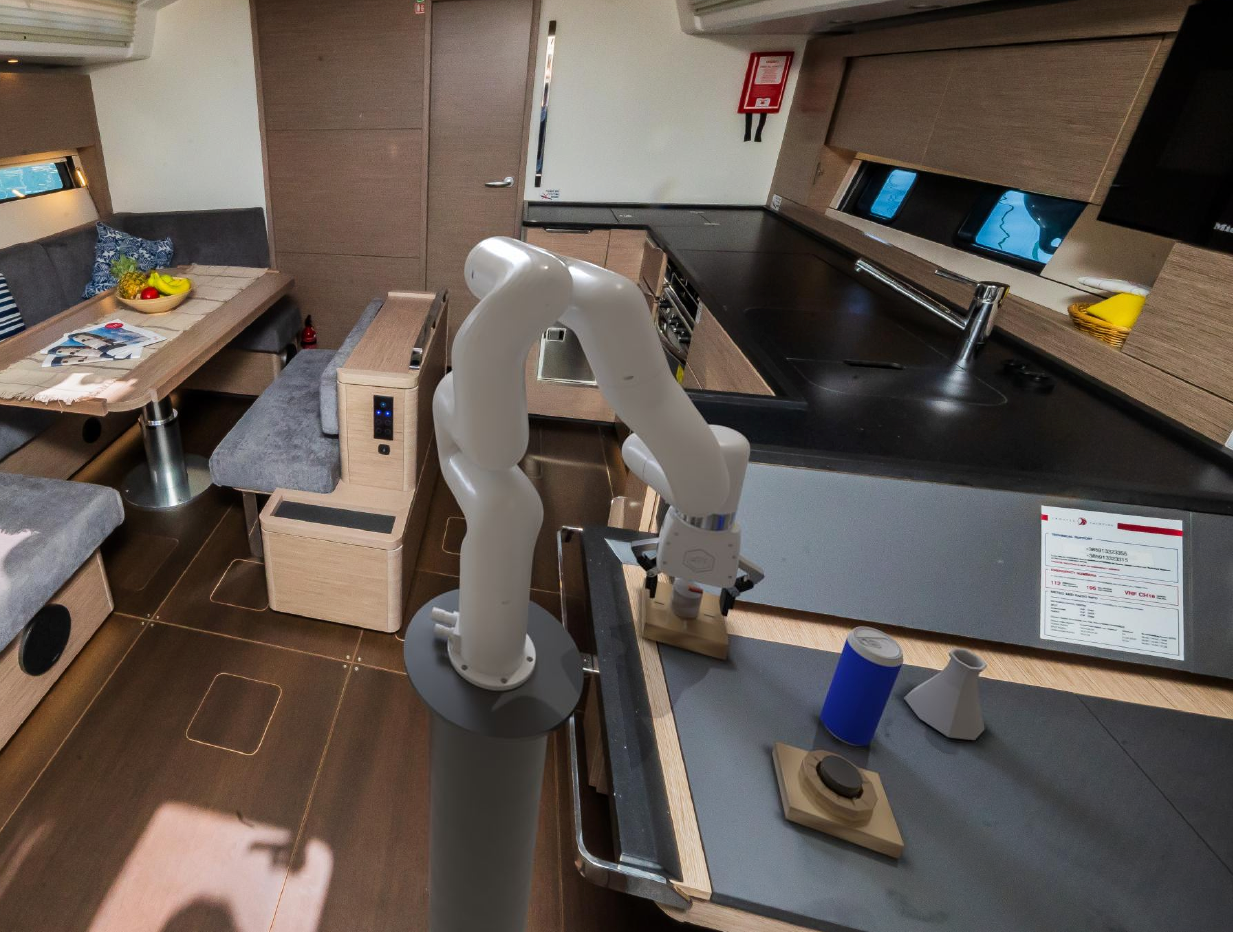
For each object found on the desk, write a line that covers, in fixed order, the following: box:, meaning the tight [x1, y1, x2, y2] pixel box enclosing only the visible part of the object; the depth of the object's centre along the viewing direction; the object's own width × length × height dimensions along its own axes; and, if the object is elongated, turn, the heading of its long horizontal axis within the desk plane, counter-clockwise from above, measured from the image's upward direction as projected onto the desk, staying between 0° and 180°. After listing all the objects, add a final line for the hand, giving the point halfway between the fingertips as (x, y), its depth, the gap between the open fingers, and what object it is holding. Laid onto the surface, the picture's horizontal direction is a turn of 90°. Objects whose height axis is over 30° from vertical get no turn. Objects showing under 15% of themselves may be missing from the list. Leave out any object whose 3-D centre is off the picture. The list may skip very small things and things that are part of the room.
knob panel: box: [641, 577, 730, 661], centre depth 91 cm, size 11×10×3 cm
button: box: [819, 755, 863, 798], centre depth 66 cm, size 4×4×2 cm
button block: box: [771, 741, 905, 860], centre depth 67 cm, size 10×8×4 cm
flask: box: [903, 647, 988, 741], centre depth 75 cm, size 7×7×10 cm
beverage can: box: [820, 626, 904, 747], centre depth 73 cm, size 5×5×15 cm
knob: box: [669, 578, 704, 619], centre depth 90 cm, size 4×4×4 cm
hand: (686, 600), depth 90 cm, fingers open, 9 cm apart
